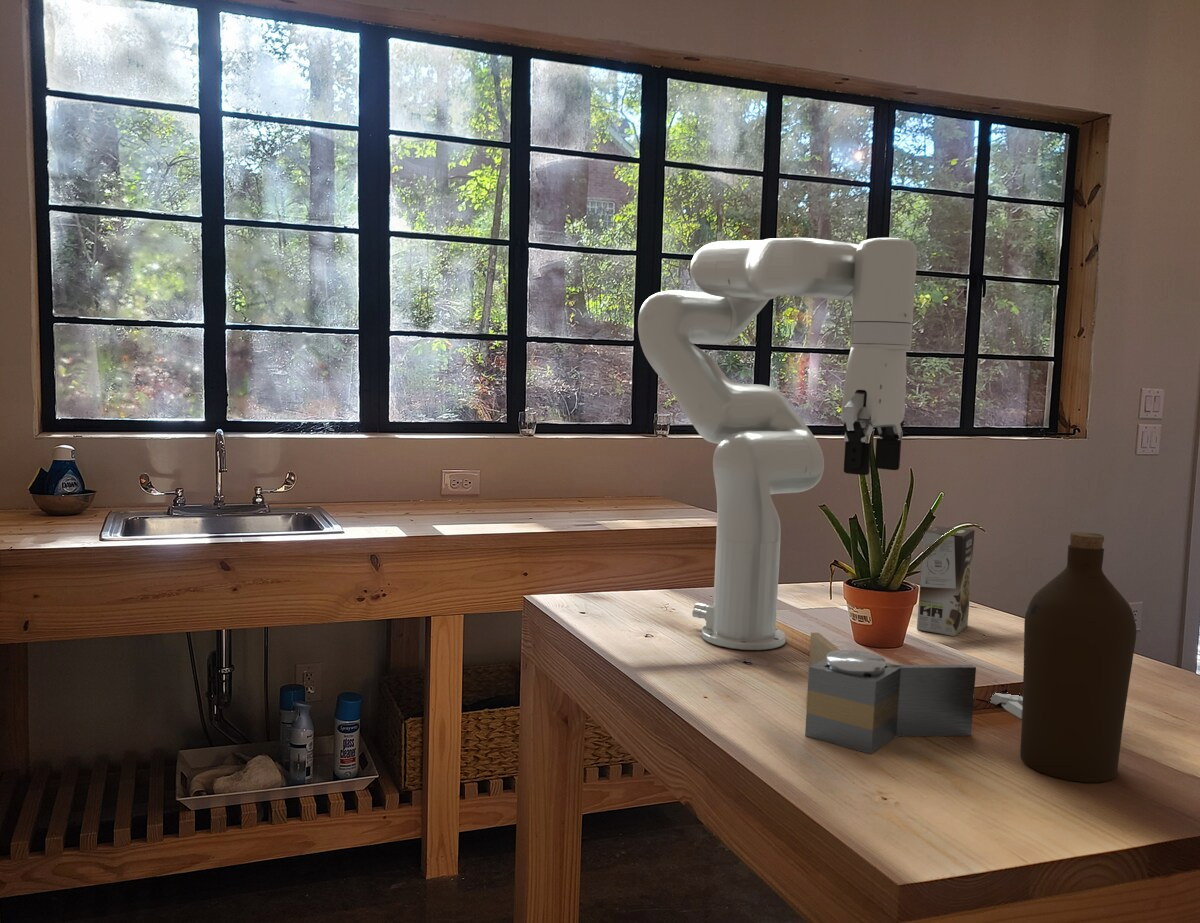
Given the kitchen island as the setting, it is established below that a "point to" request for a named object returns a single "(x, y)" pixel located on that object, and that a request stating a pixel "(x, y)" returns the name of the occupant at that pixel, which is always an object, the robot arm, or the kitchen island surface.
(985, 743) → the kitchen island surface
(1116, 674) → the olive oil
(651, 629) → the kitchen island surface
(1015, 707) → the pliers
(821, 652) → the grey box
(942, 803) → the kitchen island surface
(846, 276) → the robot arm
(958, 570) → the coffee box
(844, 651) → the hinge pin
